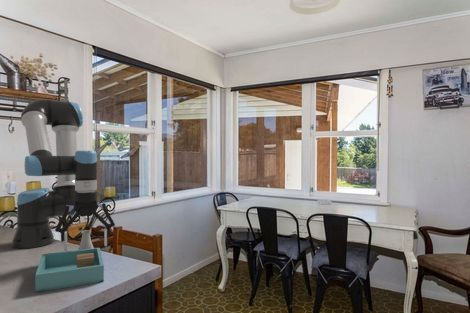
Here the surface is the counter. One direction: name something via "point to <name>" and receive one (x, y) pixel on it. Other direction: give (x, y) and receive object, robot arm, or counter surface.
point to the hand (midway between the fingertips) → (86, 247)
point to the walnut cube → (85, 260)
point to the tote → (67, 270)
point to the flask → (85, 240)
